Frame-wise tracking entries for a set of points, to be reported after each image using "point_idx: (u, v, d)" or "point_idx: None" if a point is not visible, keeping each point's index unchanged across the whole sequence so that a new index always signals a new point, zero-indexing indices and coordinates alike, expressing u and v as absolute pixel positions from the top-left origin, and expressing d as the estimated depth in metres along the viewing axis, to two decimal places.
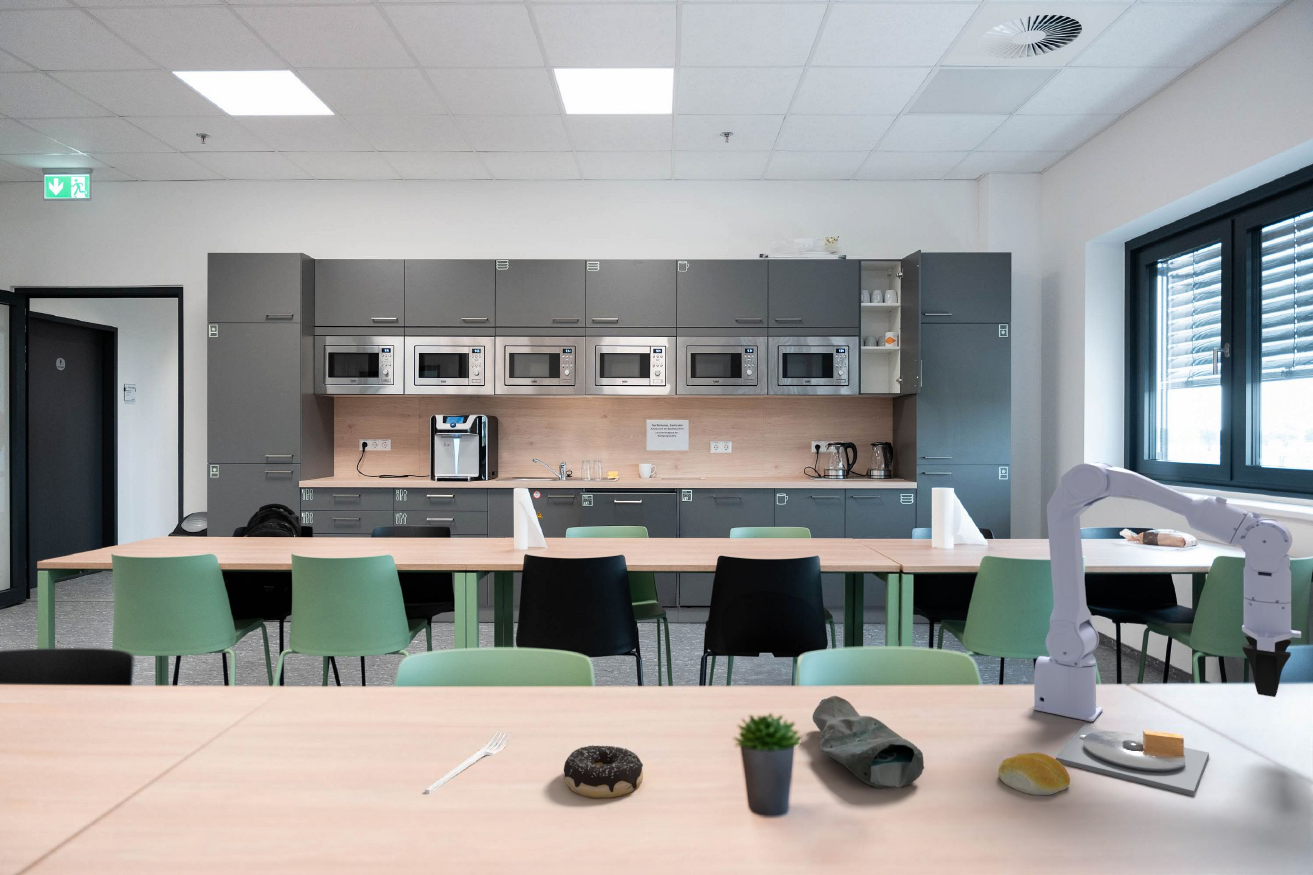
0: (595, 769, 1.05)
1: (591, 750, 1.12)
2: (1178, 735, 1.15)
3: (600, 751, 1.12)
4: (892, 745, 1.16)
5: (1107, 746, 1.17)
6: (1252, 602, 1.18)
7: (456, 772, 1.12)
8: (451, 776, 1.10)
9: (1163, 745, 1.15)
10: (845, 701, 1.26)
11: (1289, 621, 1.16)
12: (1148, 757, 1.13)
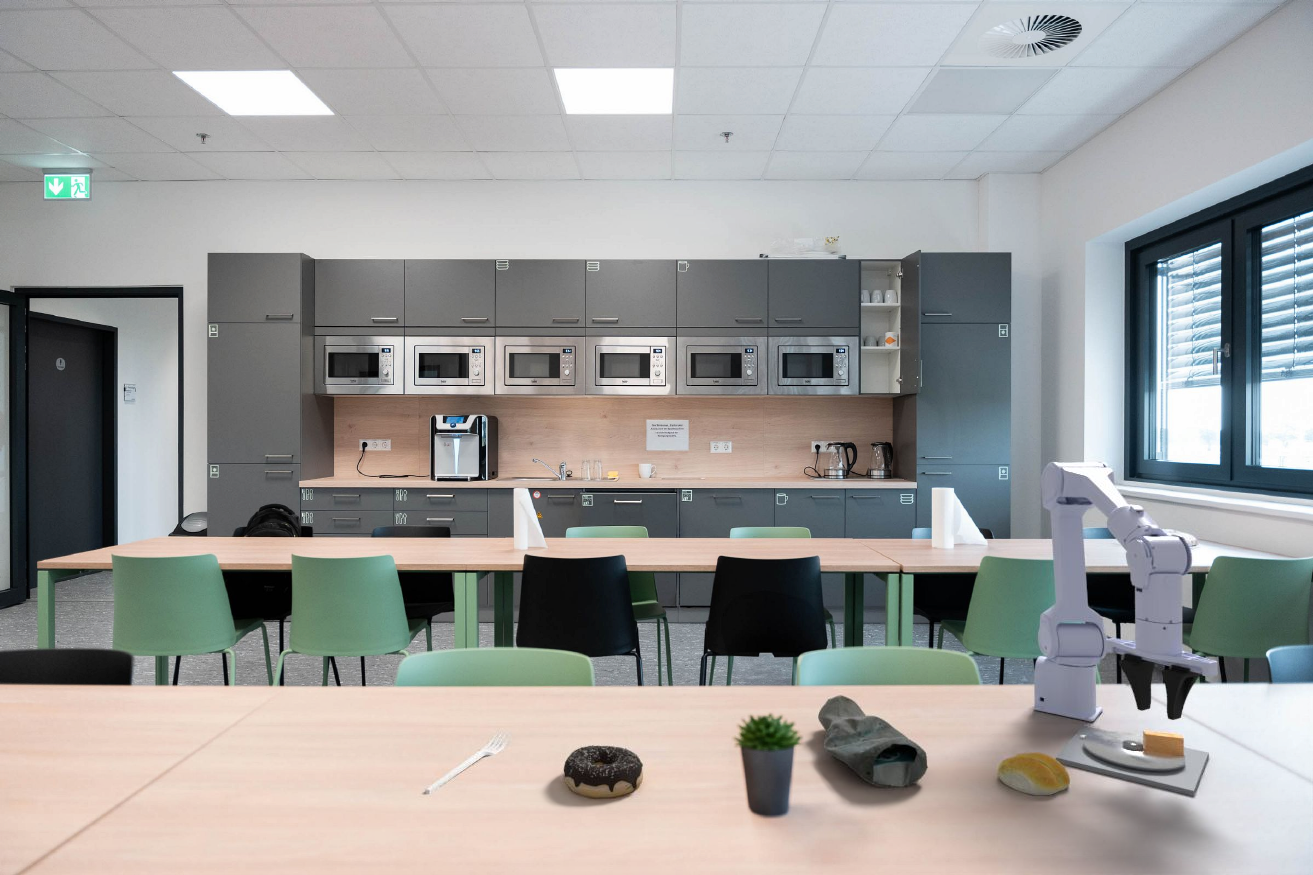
0: (595, 769, 1.05)
1: (591, 750, 1.12)
2: (1178, 735, 1.15)
3: (600, 751, 1.12)
4: (897, 745, 1.16)
5: (1107, 746, 1.17)
6: (1167, 625, 1.10)
7: (456, 772, 1.12)
8: (451, 776, 1.10)
9: (1163, 745, 1.15)
10: (851, 701, 1.26)
11: None
12: (1148, 757, 1.13)
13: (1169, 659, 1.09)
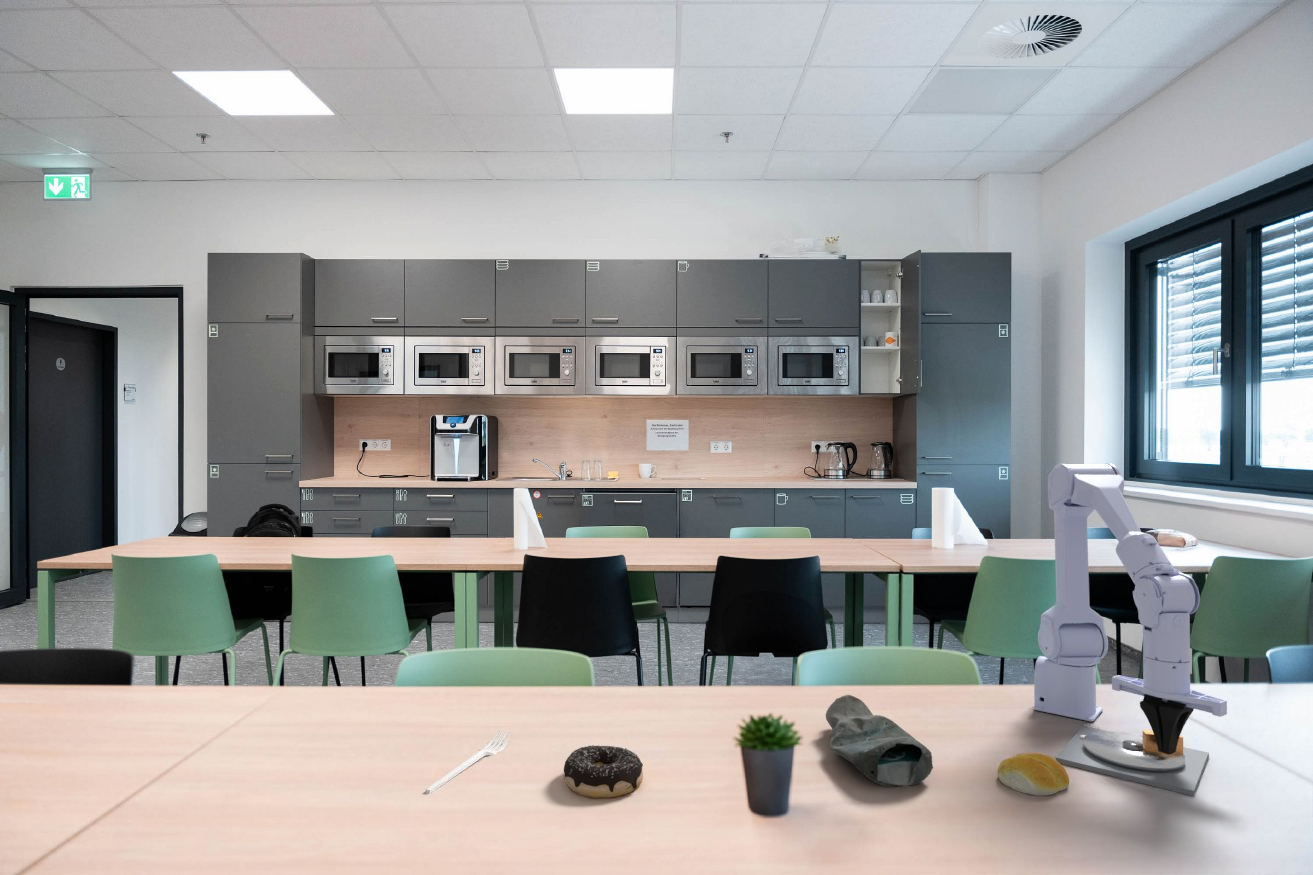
0: (595, 769, 1.05)
1: (591, 750, 1.12)
2: None
3: (600, 751, 1.12)
4: (903, 745, 1.16)
5: (1108, 747, 1.17)
6: (1177, 665, 1.11)
7: (457, 772, 1.12)
8: (452, 776, 1.10)
9: None
10: (859, 700, 1.27)
11: None
12: (1150, 757, 1.13)
13: (1179, 698, 1.10)
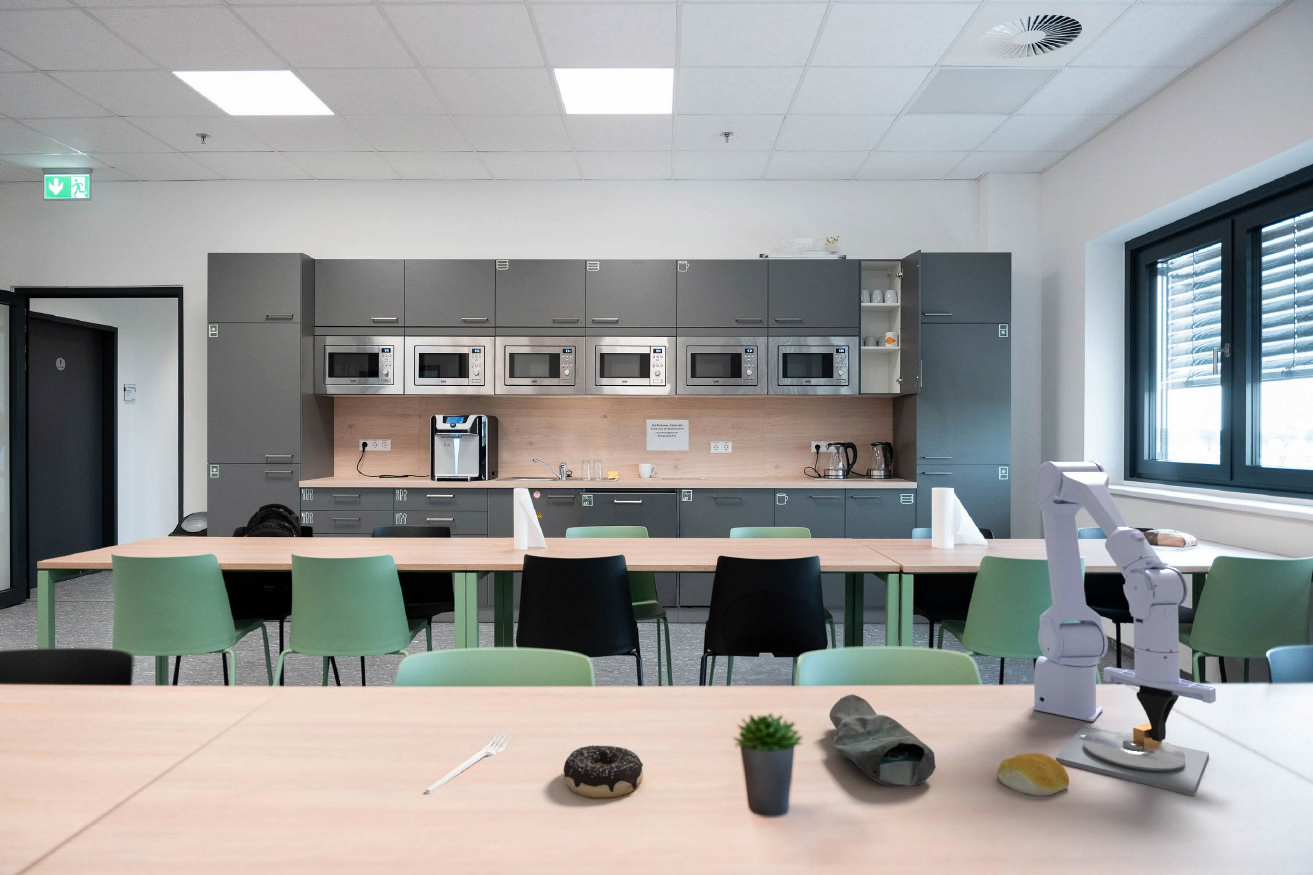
0: (595, 769, 1.05)
1: (591, 750, 1.12)
2: None
3: (600, 751, 1.12)
4: (906, 744, 1.16)
5: (1125, 754, 1.14)
6: (1168, 654, 1.15)
7: (457, 772, 1.12)
8: (452, 776, 1.10)
9: None
10: (862, 700, 1.27)
11: None
12: (1161, 753, 1.14)
13: (1171, 687, 1.14)
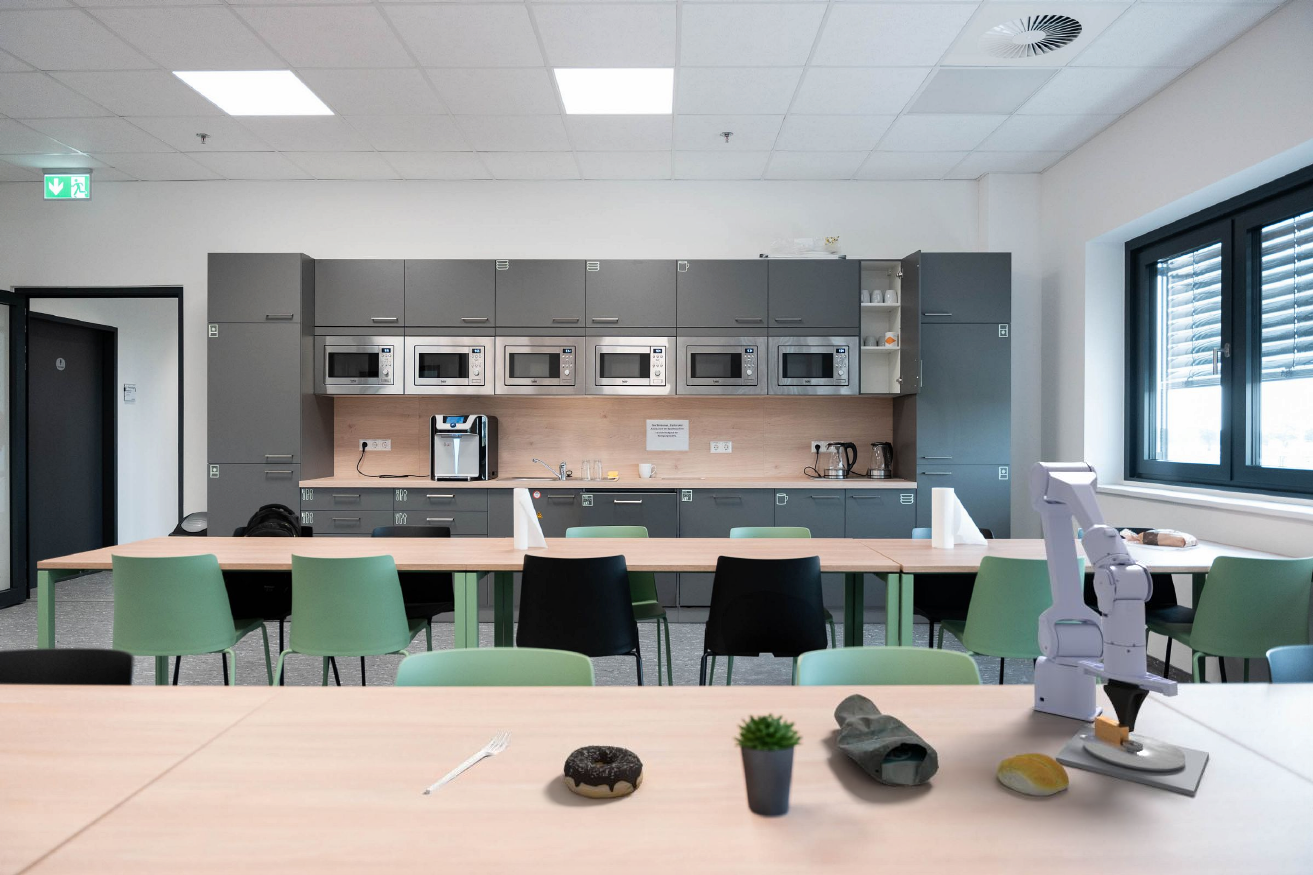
0: (595, 769, 1.05)
1: (591, 750, 1.12)
2: (1099, 717, 1.22)
3: (600, 751, 1.12)
4: (910, 744, 1.16)
5: (1157, 756, 1.13)
6: (1131, 648, 1.18)
7: (457, 772, 1.12)
8: (452, 776, 1.10)
9: None
10: (867, 700, 1.27)
11: None
12: (1143, 741, 1.19)
13: (1133, 680, 1.17)
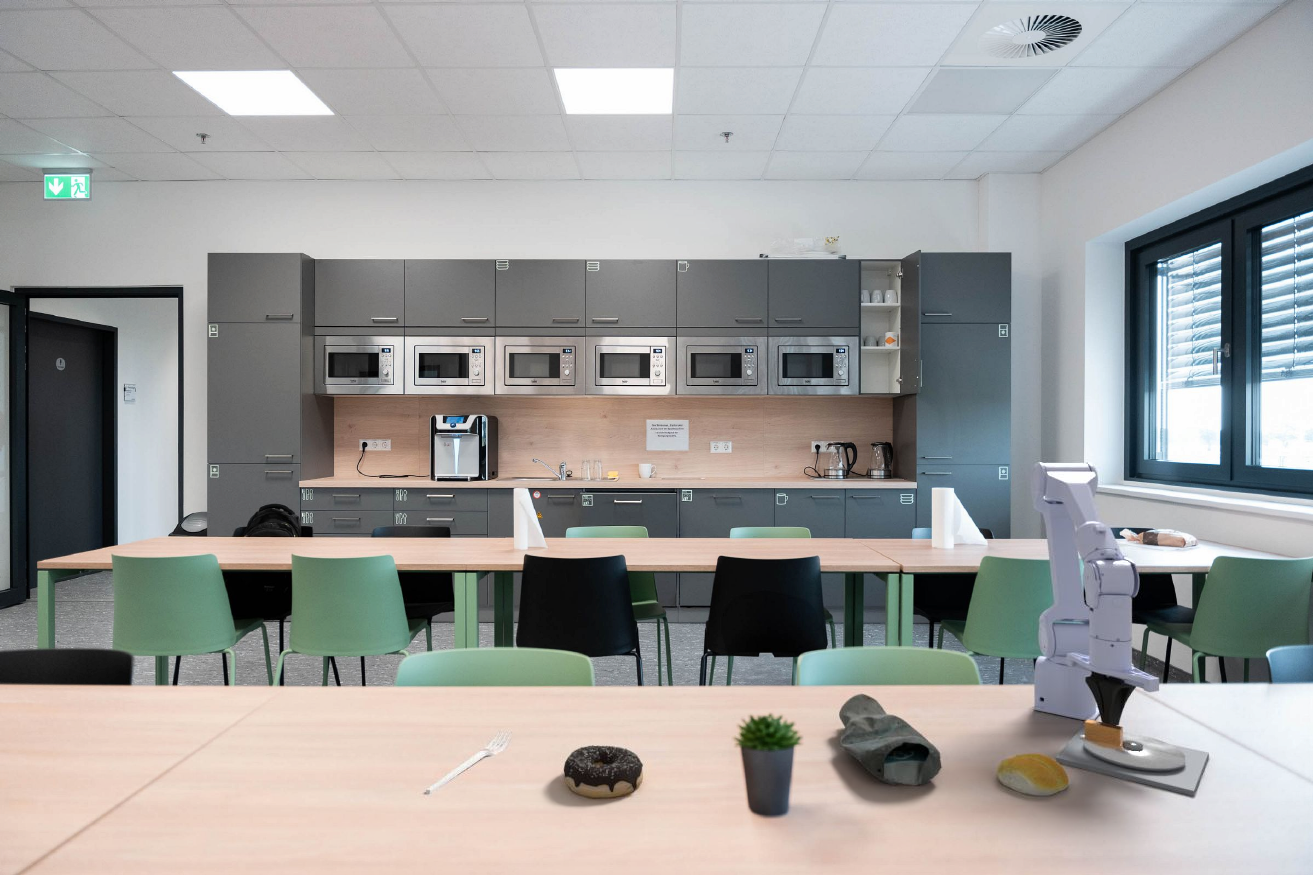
0: (595, 769, 1.05)
1: (591, 750, 1.12)
2: (1088, 721, 1.20)
3: (600, 751, 1.12)
4: (914, 744, 1.16)
5: (1161, 752, 1.15)
6: (1115, 643, 1.19)
7: (457, 772, 1.12)
8: (452, 776, 1.10)
9: None
10: (872, 699, 1.27)
11: None
12: (1128, 738, 1.20)
13: (1115, 674, 1.18)
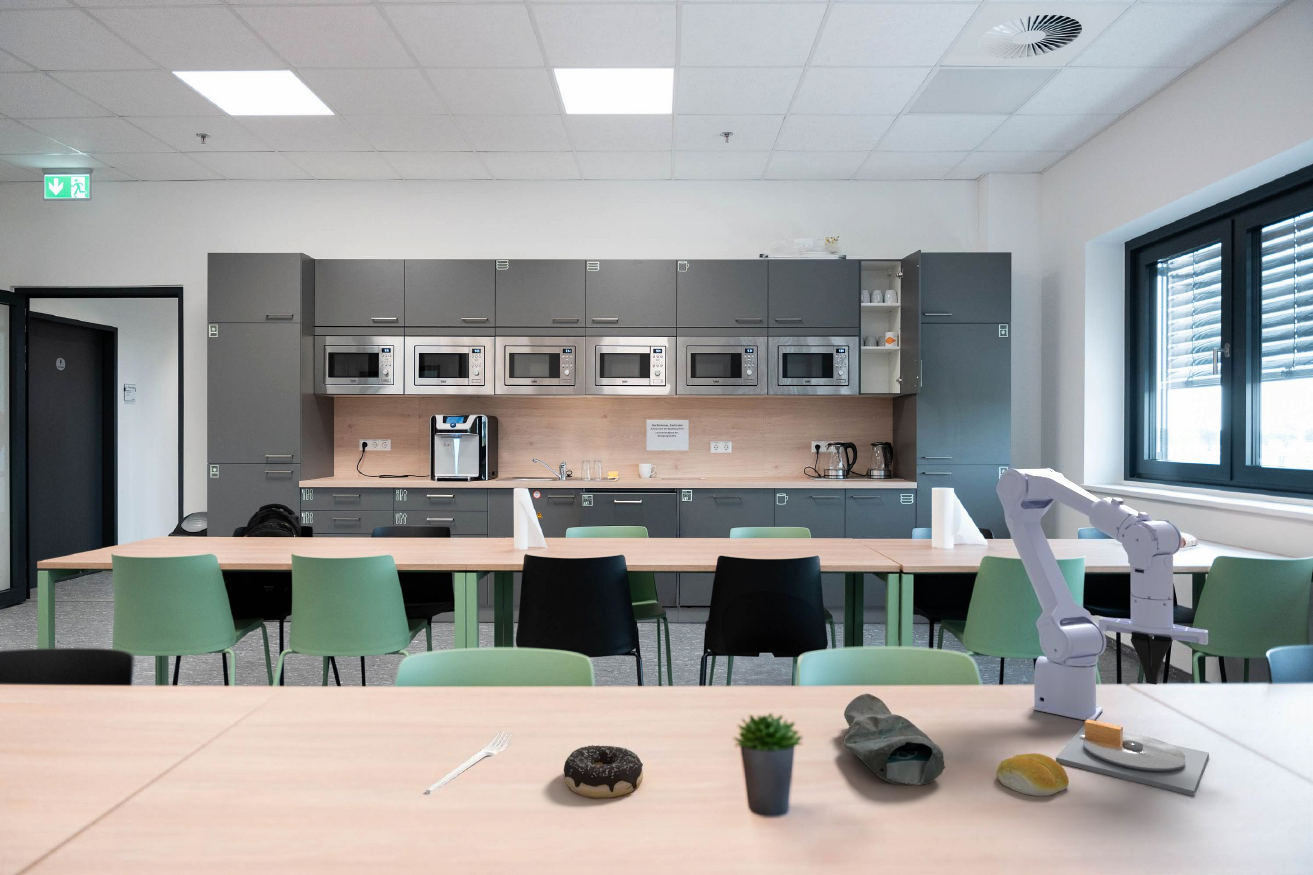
0: (595, 769, 1.05)
1: (591, 750, 1.12)
2: (1088, 721, 1.20)
3: (600, 751, 1.12)
4: (918, 744, 1.16)
5: (1161, 752, 1.15)
6: (1166, 602, 1.21)
7: (457, 772, 1.12)
8: (452, 776, 1.10)
9: None
10: (878, 699, 1.27)
11: None
12: (1128, 738, 1.20)
13: (1170, 632, 1.20)
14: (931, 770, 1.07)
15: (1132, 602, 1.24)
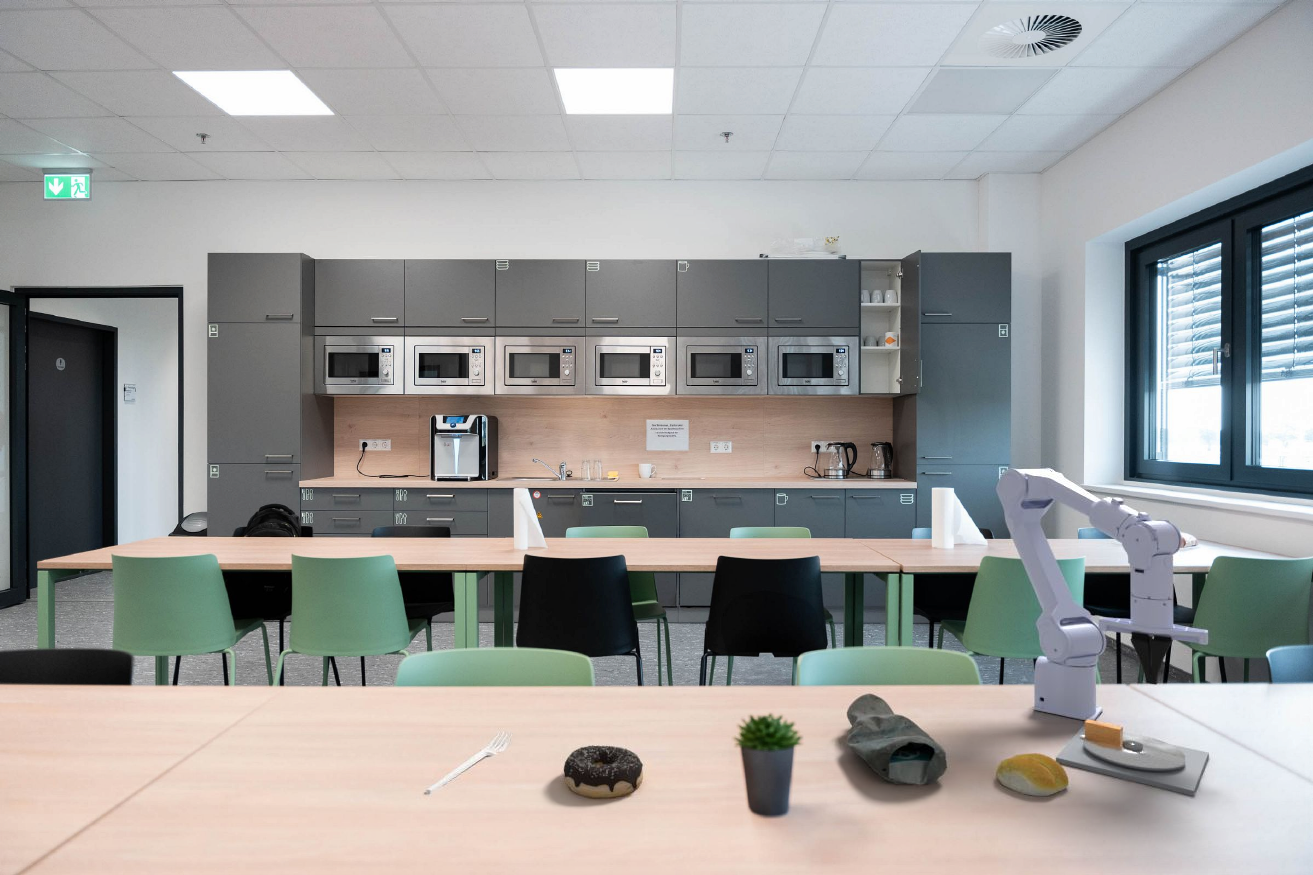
0: (595, 769, 1.05)
1: (591, 750, 1.12)
2: (1088, 721, 1.20)
3: (600, 751, 1.12)
4: (920, 744, 1.16)
5: (1161, 752, 1.15)
6: (1166, 602, 1.21)
7: (458, 772, 1.11)
8: (452, 776, 1.10)
9: None
10: (880, 699, 1.27)
11: None
12: (1128, 738, 1.20)
13: (1170, 632, 1.20)
14: (933, 770, 1.07)
15: (1132, 602, 1.24)
